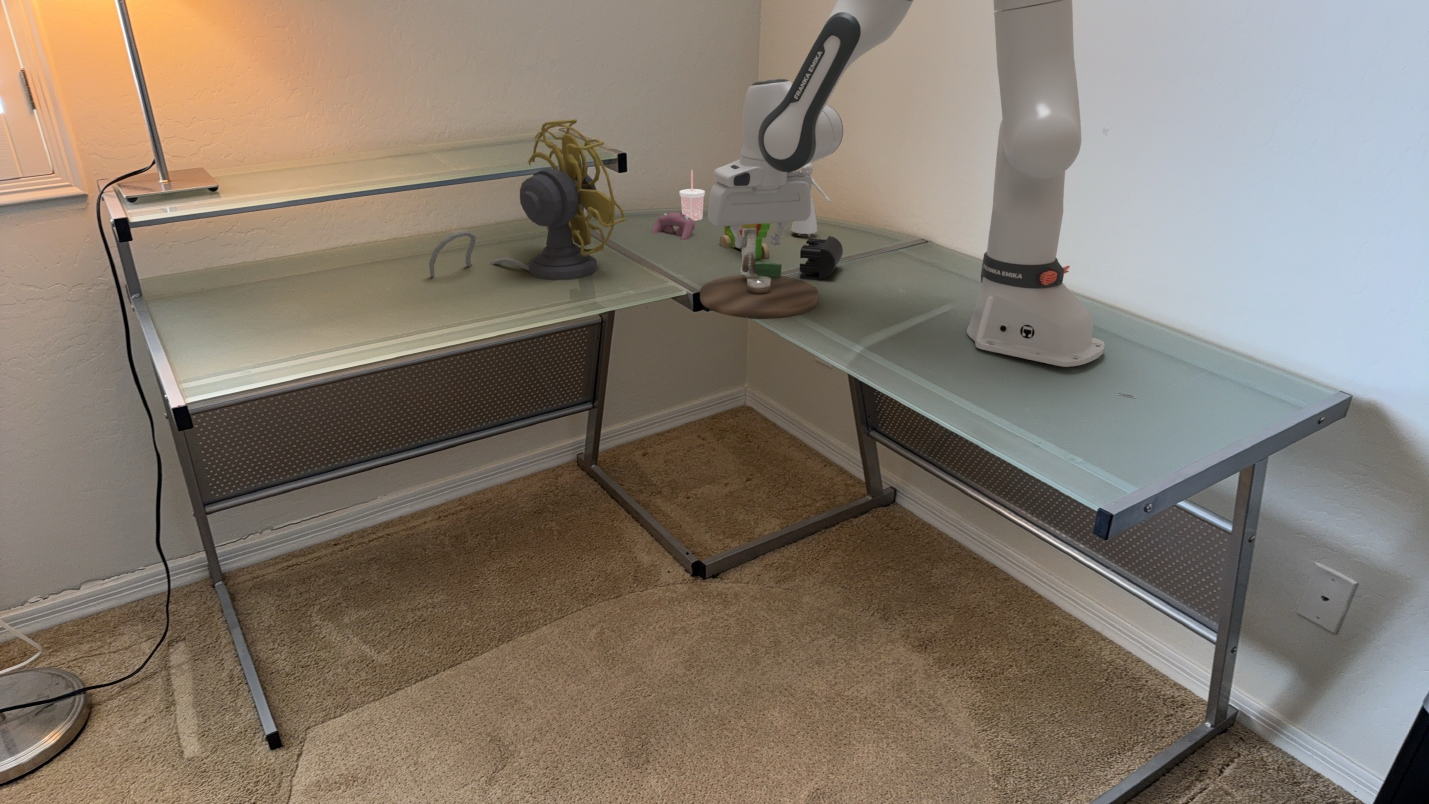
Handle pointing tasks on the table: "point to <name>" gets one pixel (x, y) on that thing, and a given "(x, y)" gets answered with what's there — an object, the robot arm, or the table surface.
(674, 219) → the video game controller
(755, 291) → the metal lever handle
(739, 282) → the dial plate
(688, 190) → the beverage cup
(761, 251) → the toy lion
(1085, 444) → the table surface
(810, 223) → the woman figurine
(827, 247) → the end cap
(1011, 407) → the table surface
